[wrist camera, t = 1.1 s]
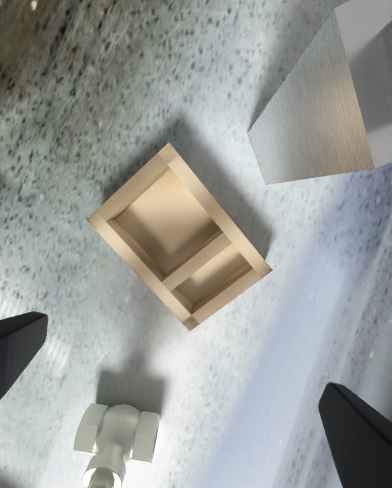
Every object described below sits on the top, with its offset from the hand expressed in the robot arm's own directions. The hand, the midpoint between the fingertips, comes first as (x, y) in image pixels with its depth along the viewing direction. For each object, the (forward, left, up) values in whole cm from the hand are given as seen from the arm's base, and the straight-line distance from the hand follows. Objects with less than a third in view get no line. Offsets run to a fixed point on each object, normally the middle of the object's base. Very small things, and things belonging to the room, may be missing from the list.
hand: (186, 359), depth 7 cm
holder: (+2, -1, -12) cm, 12 cm away
